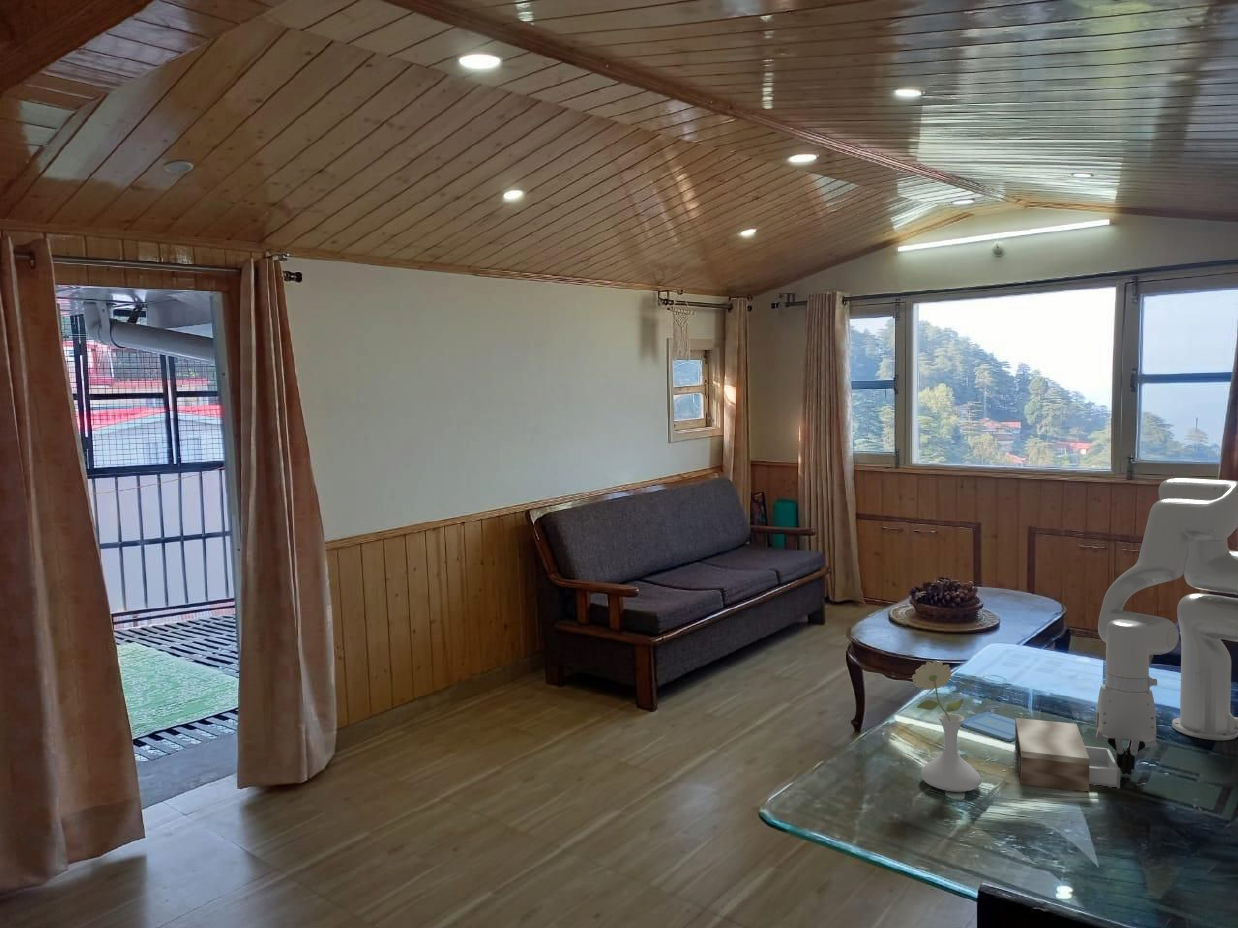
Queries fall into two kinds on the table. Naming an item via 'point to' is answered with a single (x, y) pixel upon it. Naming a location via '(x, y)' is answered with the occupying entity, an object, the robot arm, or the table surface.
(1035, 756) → the tan slab
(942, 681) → the flower in vase
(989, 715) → the blue flat rectangular slab
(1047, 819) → the table surface
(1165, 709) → the table surface
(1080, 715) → the table surface
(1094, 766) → the white open tray
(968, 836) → the table surface
